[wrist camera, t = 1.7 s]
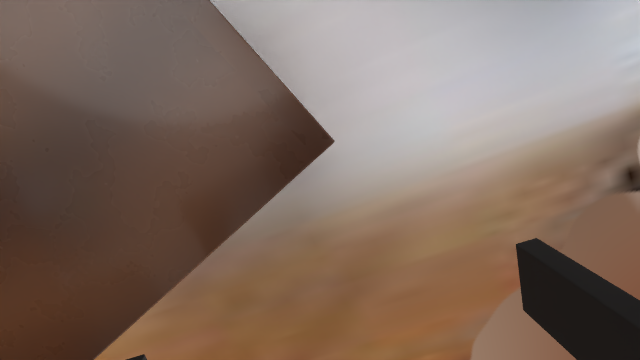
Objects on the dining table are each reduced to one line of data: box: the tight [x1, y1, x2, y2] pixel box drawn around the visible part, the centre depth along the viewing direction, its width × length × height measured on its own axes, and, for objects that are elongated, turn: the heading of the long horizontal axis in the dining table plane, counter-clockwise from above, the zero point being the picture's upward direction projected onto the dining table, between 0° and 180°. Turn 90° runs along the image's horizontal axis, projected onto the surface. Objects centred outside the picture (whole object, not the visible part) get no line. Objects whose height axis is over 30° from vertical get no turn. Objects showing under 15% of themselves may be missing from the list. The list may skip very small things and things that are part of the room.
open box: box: [0, 0, 334, 360], centre depth 26 cm, size 17×26×21 cm, turn 132°
